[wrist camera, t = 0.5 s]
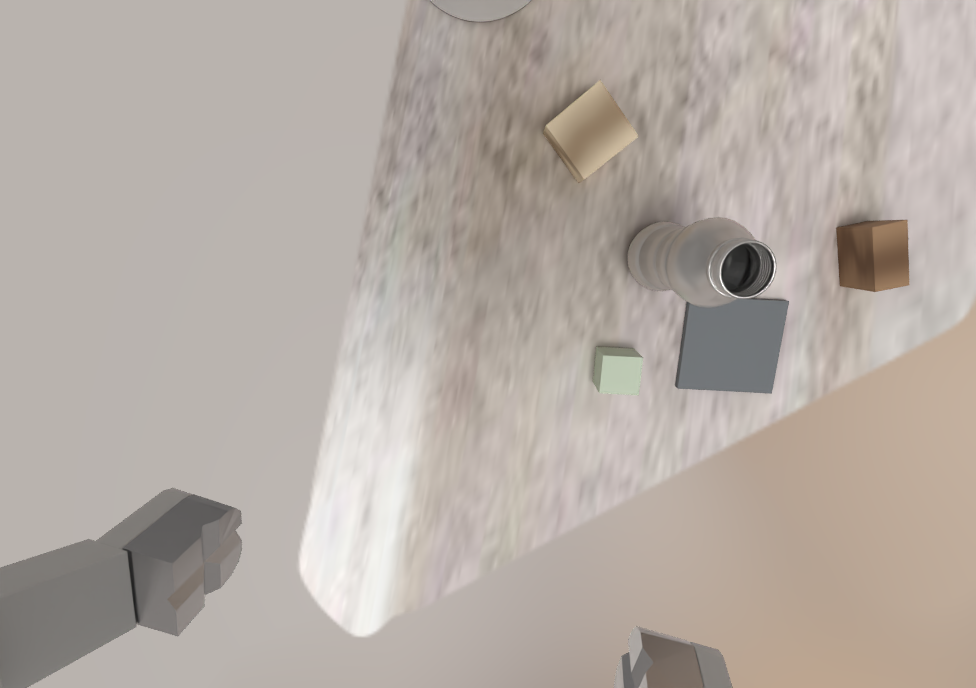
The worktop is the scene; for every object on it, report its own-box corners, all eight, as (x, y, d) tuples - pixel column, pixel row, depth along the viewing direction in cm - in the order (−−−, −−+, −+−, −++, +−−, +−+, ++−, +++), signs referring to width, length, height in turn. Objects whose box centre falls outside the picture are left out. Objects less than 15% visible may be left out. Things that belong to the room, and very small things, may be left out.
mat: (687, 295, 50) (690, 296, 50) (784, 300, 50) (788, 301, 49) (675, 386, 53) (677, 388, 52) (767, 391, 52) (771, 393, 51)
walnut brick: (835, 227, 48) (872, 227, 43) (867, 221, 48) (907, 219, 43) (839, 285, 50) (875, 291, 45) (869, 279, 49) (909, 285, 44)
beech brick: (542, 134, 48) (545, 125, 44) (592, 92, 46) (600, 79, 43) (578, 183, 48) (584, 179, 45) (628, 144, 47) (638, 136, 44)
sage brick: (596, 346, 52) (603, 355, 48) (633, 348, 52) (643, 357, 48) (592, 381, 53) (599, 393, 49) (629, 383, 53) (638, 395, 49)
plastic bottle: (620, 287, 50) (689, 322, 31) (624, 221, 49) (700, 214, 29) (682, 288, 50) (792, 324, 31) (688, 221, 49) (808, 214, 29)
